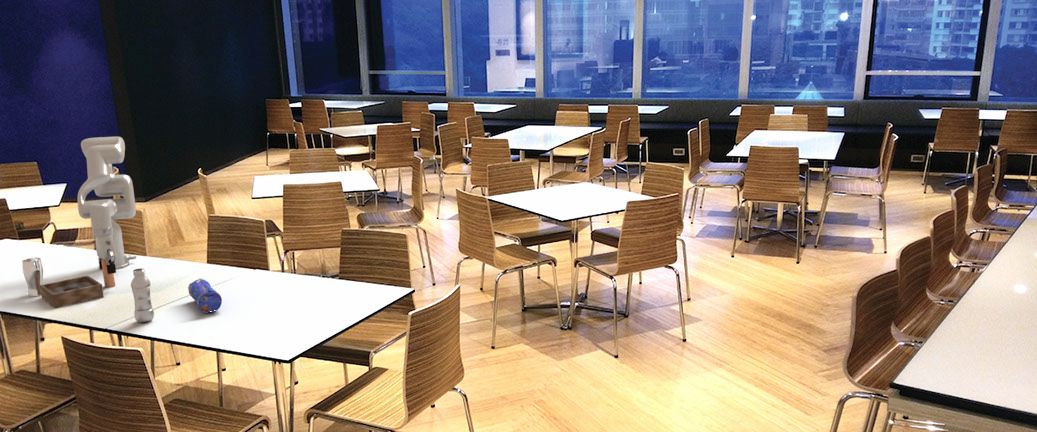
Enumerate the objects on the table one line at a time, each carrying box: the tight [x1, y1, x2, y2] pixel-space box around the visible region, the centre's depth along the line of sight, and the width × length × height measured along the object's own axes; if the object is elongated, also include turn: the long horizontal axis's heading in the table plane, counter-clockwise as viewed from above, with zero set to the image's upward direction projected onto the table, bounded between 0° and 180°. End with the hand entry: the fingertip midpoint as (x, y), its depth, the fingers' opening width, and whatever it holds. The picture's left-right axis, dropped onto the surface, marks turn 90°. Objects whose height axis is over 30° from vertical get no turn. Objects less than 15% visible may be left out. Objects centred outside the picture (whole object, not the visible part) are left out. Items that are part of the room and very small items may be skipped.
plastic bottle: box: [130, 268, 155, 323], centre depth 290 cm, size 6×7×20 cm
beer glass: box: [21, 257, 44, 298], centre depth 323 cm, size 7×7×15 cm
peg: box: [101, 259, 116, 289], centre depth 333 cm, size 4×4×12 cm
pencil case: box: [187, 278, 223, 314], centre depth 307 cm, size 22×9×10 cm, turn 33°
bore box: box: [40, 275, 105, 309], centre depth 319 cm, size 18×18×6 cm
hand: (108, 271), depth 333 cm, fingers open, 9 cm apart
